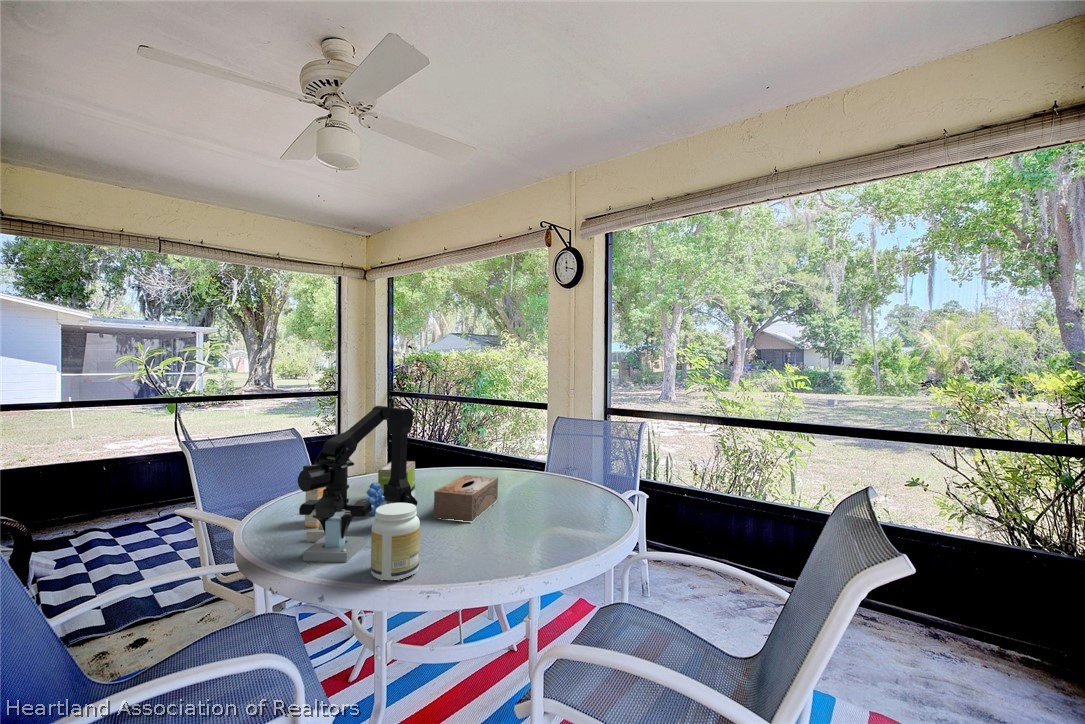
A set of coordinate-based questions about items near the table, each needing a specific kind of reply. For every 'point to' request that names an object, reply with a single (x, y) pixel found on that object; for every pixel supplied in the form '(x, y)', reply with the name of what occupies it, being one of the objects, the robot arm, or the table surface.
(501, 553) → the table surface
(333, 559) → the socket
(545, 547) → the table surface
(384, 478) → the tea box
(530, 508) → the table surface
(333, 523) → the plug
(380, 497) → the grapes
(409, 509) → the supplement tub
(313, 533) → the grey square frame
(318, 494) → the supplement box
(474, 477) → the tissue box cover
